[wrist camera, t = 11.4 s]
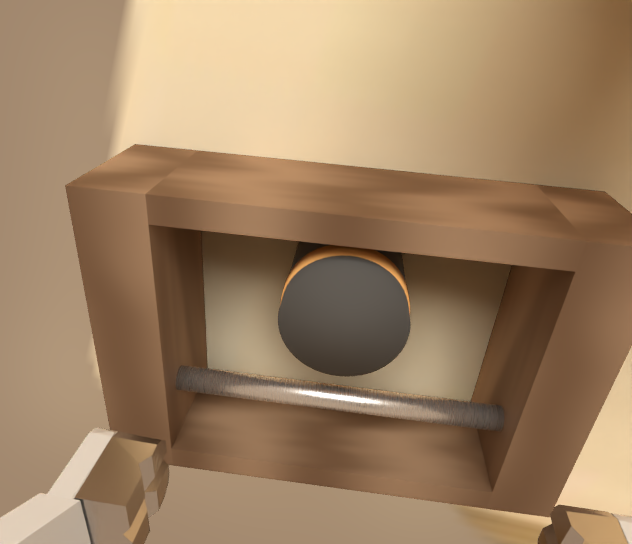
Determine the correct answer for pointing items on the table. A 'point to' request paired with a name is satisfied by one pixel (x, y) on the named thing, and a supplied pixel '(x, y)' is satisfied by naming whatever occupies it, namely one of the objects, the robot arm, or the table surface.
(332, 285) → the orange-banded dark cylinder
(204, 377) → the metal rod
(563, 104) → the table surface
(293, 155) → the table surface
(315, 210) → the brown wooden frame
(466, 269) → the table surface
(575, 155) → the table surface
